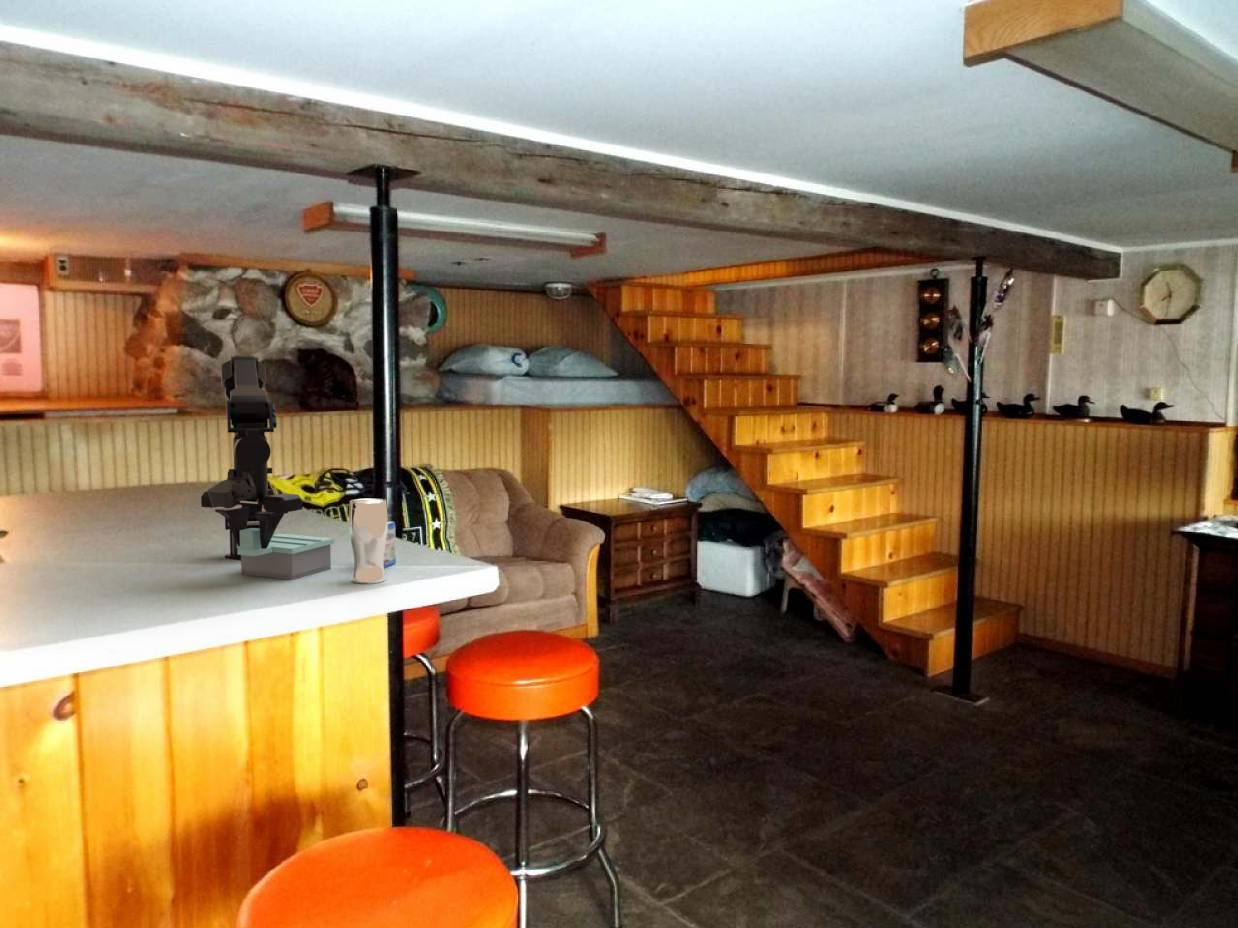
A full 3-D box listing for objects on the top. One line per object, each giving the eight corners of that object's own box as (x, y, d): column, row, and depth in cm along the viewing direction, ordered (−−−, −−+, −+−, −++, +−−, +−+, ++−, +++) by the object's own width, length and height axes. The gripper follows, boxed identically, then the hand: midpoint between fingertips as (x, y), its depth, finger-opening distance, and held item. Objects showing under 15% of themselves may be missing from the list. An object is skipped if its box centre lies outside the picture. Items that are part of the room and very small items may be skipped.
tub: (241, 573, 175) (240, 548, 175) (281, 563, 186) (281, 538, 185) (292, 579, 171) (291, 553, 171) (330, 568, 181) (330, 543, 181)
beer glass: (353, 576, 175) (352, 498, 173) (391, 576, 175) (390, 498, 174) (346, 584, 168) (345, 503, 167) (384, 584, 169) (384, 503, 167)
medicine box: (378, 571, 180) (378, 527, 179) (357, 570, 181) (357, 526, 180) (396, 563, 187) (396, 521, 187) (376, 562, 188) (375, 520, 188)
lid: (218, 552, 170) (217, 528, 170) (280, 538, 186) (280, 516, 185) (274, 558, 166) (274, 533, 165) (334, 543, 181) (333, 520, 181)
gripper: (176, 464, 164) (178, 550, 165) (259, 469, 157) (261, 559, 159) (223, 459, 174) (225, 540, 176) (303, 464, 168) (305, 548, 169)
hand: (252, 547), depth 169 cm, fingers open, 5 cm apart
